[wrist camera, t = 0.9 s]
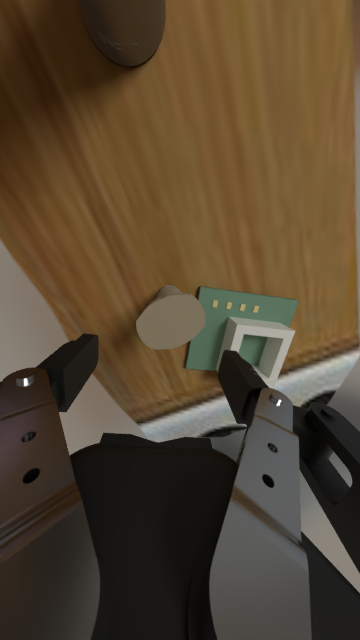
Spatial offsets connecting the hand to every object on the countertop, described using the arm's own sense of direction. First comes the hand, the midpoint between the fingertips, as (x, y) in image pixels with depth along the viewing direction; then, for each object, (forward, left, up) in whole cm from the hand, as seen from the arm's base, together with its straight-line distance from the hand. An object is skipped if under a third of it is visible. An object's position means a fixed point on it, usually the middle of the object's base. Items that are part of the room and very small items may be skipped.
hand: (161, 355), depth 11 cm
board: (+6, +15, -20) cm, 26 cm away
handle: (0, +1, -20) cm, 20 cm away
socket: (+8, +17, -19) cm, 26 cm away
